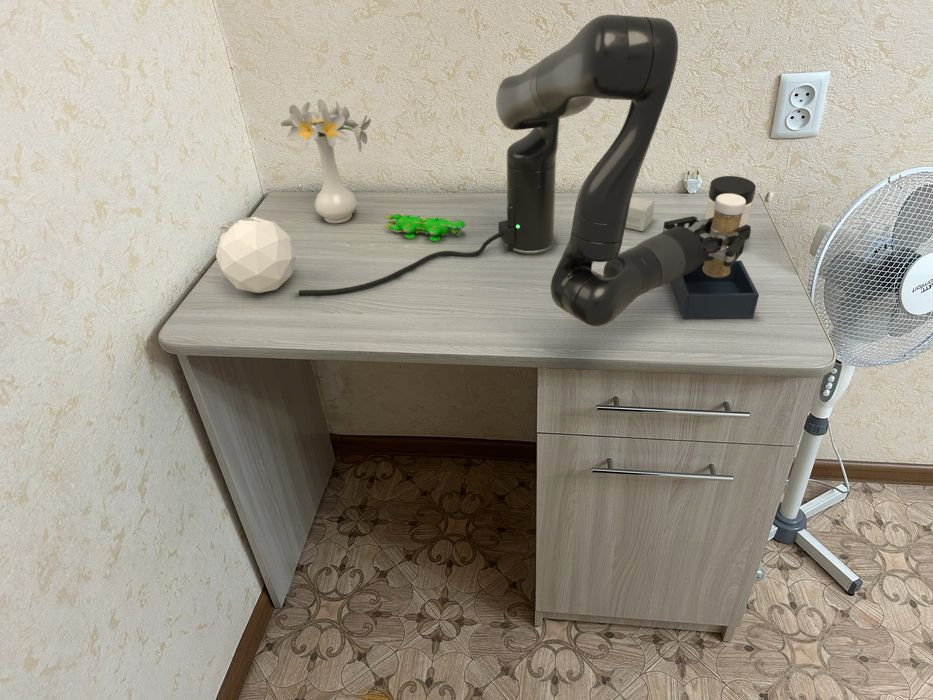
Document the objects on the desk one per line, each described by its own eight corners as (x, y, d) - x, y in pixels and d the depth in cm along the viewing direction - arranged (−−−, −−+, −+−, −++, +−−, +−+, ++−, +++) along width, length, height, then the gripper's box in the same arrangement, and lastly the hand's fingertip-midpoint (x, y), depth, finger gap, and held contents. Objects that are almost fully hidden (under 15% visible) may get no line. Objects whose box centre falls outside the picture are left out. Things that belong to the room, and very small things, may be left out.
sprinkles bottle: (729, 280, 114) (746, 205, 106) (701, 277, 115) (715, 202, 107) (729, 266, 117) (746, 193, 109) (702, 263, 119) (716, 191, 111)
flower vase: (379, 228, 148) (363, 112, 133) (295, 232, 149) (269, 116, 134) (384, 202, 159) (370, 91, 143) (305, 205, 159) (283, 96, 144)
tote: (682, 319, 116) (686, 295, 113) (670, 284, 125) (673, 261, 122) (753, 318, 115) (759, 294, 112) (736, 283, 124) (741, 260, 121)
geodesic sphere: (195, 289, 120) (229, 222, 115) (198, 251, 131) (229, 188, 126) (275, 318, 128) (311, 257, 123) (272, 280, 139) (304, 222, 134)
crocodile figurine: (462, 245, 140) (460, 226, 138) (380, 237, 145) (377, 219, 142) (470, 230, 145) (469, 212, 143) (391, 223, 150) (389, 205, 147)
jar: (753, 241, 136) (767, 184, 128) (729, 256, 132) (741, 198, 124) (714, 226, 141) (725, 171, 134) (690, 239, 137) (700, 183, 130)
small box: (652, 221, 145) (655, 199, 142) (642, 232, 141) (645, 210, 138) (627, 215, 147) (629, 194, 144) (616, 226, 143) (618, 204, 140)
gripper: (706, 254, 98) (778, 219, 106) (632, 220, 108) (703, 190, 115) (697, 298, 103) (768, 261, 110) (627, 262, 112) (696, 230, 120)
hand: (734, 225), depth 113 cm, fingers closed on sprinkles bottle, 4 cm apart
